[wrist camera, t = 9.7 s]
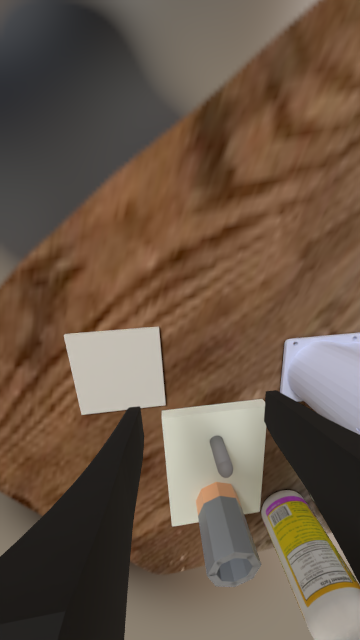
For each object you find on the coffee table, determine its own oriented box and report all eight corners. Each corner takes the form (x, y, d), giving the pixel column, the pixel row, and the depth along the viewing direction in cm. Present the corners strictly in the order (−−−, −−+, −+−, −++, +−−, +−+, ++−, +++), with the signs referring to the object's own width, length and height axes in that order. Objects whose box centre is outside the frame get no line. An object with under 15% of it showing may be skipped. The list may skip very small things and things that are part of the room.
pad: (158, 326, 19) (158, 327, 18) (165, 402, 21) (165, 405, 20) (65, 334, 18) (63, 335, 17) (83, 412, 20) (81, 414, 20)
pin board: (262, 398, 22) (290, 434, 17) (255, 501, 26) (276, 552, 21) (161, 410, 21) (161, 451, 16) (171, 515, 25) (174, 572, 20)
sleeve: (226, 476, 23) (248, 545, 17) (241, 500, 24) (266, 571, 18) (190, 494, 23) (200, 568, 17) (207, 517, 24) (221, 593, 19)
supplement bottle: (296, 518, 28) (402, 712, 16) (255, 521, 27) (333, 726, 15) (307, 485, 27) (435, 671, 14) (264, 487, 26) (359, 686, 13)
